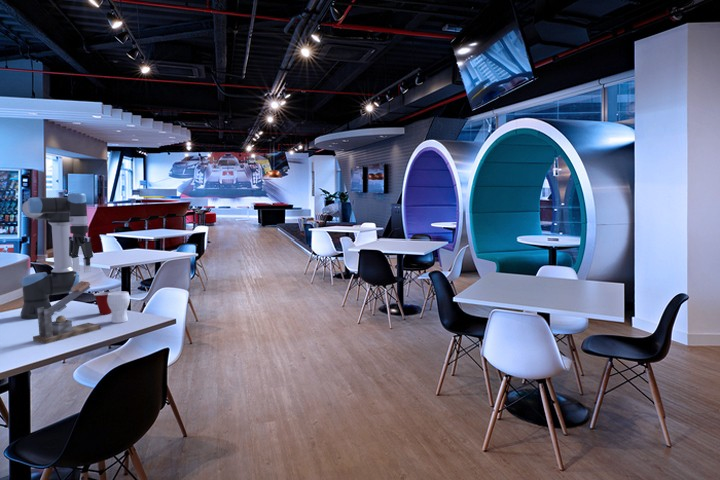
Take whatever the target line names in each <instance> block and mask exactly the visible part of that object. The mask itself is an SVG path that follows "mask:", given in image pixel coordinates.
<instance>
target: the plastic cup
mask: <svg viewBox="0 0 720 480" xmlns="http://www.w3.org/2000/svg"><path fill="white" fill-rule="evenodd" d="M112 292H113V291H105V292H97V293H94V294H93V296H94V298H95V301H96V304H97V309H98V312H99V314H100V315H101V316H102V315H103V316H105V314H106V315H110V313H111V314H112V311H111V309H110V308H109V306H108V303H107V297H108V294H109V293H112Z"/></svg>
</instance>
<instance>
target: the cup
mask: <svg viewBox="0 0 720 480" xmlns="http://www.w3.org/2000/svg"><path fill="white" fill-rule="evenodd" d="M111 292H112V293H109V294H108V297H107V303H108V306H109V308H110V309H111V311H112V313H111V323H113V324H118V323H125V322H127V321H128V320H129V318H128V314H127V312H128V308H129V305H130V301H131V296H130V294H129V291H122V290H121V291H119V290H118V291H111Z"/></svg>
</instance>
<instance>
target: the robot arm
mask: <svg viewBox="0 0 720 480" xmlns="http://www.w3.org/2000/svg"><path fill="white" fill-rule="evenodd" d="M87 202H88V200H87V195H86V193H83V192H82V193H81V192H78V193H77V192H73V193H72V192H69V193H68V194H67V197H66V196H64V197H63V196H61V197H60V196H59V197H57V196H55V197H46V196H45V197H39V196H37V197H29V198H28V199H27V200H26V201H25V202H23V204H22V205H21V211H22V213H23V215H24V216H26V217H27V218H29V219H32V220H41V221H43V220H45V221H47V223H48V224H49V225H50V226H51V234H52V251H53V269H52V270H50V273H51V274H48V273H47V272H46V271H43V272H35V273H30V274H28V275H25V276H23V277H22V280H21V287H22V299H23V301H22V302H23V303H22V307H21V311H20V318H21V319H25V320H32V319H38V310H37V308H41V307H44V309H48V308H50V307H51V306H52V303H51V302H50V298H49V297H50V296H53V295H55V296H56V295H62V294H71V293H72V292H74V291H72V290H71V288H72V287H73V286H75V285H76V284H78V283H79V282H80V274H79V271H81V270H80V258H79V257H80V256H79V252H80V249H81V252H82V256H83V273H84V274H85V273H91V258H94V253H93V248H92V238H91V236H89V237H87V234H88V233H89V226H88V223H89V222H88V209H87V204H88V203H87ZM71 235H72V236H71ZM53 314H55V312H54V313H53ZM53 314H51V316H52V315H53Z"/></svg>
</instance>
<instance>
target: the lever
mask: <svg viewBox="0 0 720 480" xmlns="http://www.w3.org/2000/svg"><path fill="white" fill-rule="evenodd" d="M90 286H91V283H90V282H89V281H83V280H81V281H79V283H78V284H76V285H75V286H73V287H72V288H71V290H72V291H74V292H71V293H68V295H66V296H65V297H63V298H62V299H60V300H59V301H57V302H55V303H54V304H53V305H51V307H50V309H51V314H52V315H53V313H54V314H55V313H56V312H57V313H60V312H62V311H63V310H65V309H66V308H67V304H69V303H70V302H72V301H73V300H75V299H76V298H78V297H79V296H81V295H83V293H85V292H87V291H88V290H90V289H91V287H90ZM48 309H49V308H48ZM42 314H43V316H44V312H42Z"/></svg>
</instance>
